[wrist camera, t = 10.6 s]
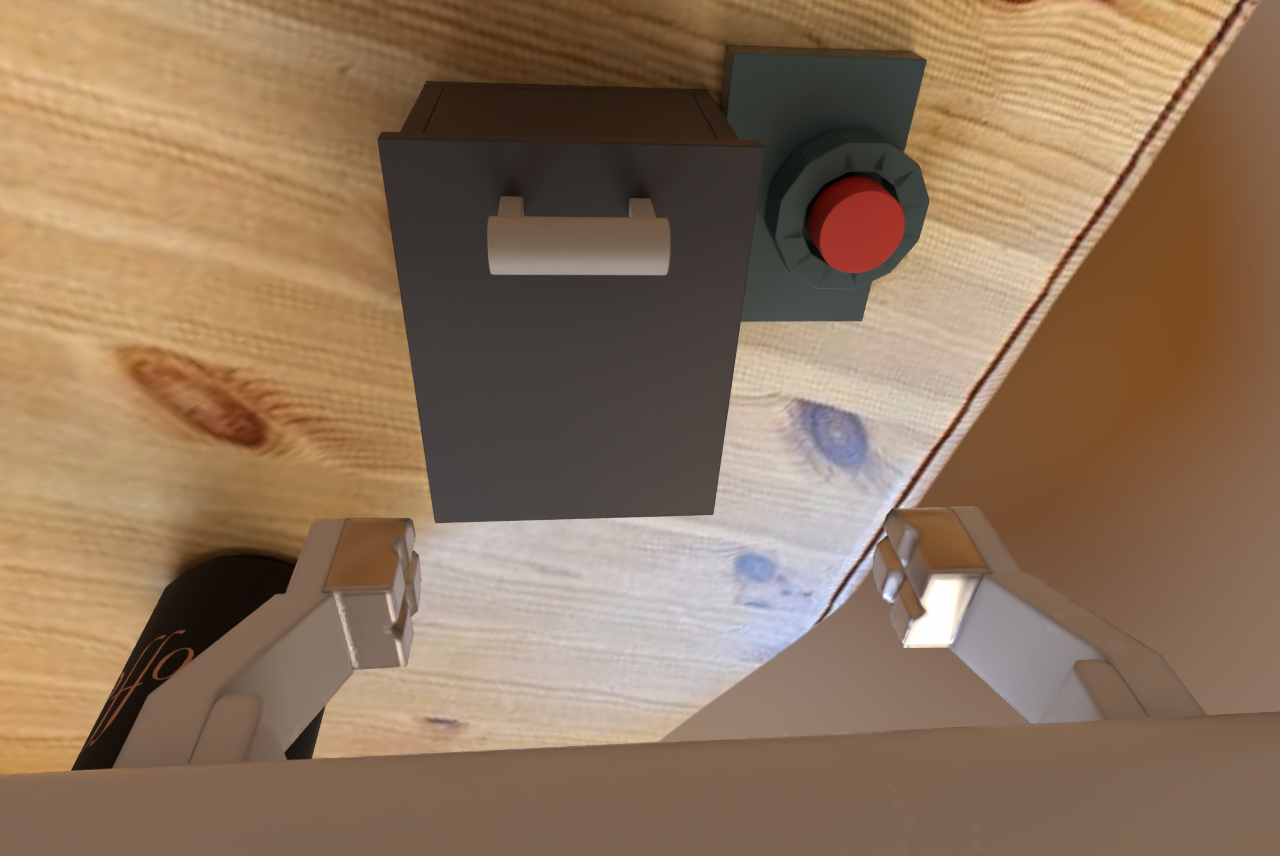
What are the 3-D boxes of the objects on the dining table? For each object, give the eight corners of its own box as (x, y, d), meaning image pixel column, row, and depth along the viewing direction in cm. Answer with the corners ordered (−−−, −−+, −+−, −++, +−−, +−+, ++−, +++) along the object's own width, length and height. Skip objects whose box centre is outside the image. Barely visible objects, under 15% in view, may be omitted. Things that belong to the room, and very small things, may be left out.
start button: (816, 175, 32) (828, 190, 31) (899, 176, 32) (915, 191, 31) (801, 256, 34) (812, 273, 33) (879, 256, 34) (893, 274, 33)
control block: (726, 45, 32) (743, 64, 29) (930, 52, 32) (966, 71, 30) (698, 307, 39) (710, 343, 36) (866, 307, 40) (890, 342, 37)
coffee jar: (302, 530, 45) (187, 848, 31) (375, 641, 52) (308, 946, 37) (128, 567, 46) (-64, 897, 31) (223, 672, 52) (99, 986, 38)
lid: (380, 130, 23) (350, 182, 19) (760, 139, 24) (797, 189, 21) (436, 511, 32) (422, 594, 29) (710, 504, 33) (730, 583, 30)
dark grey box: (426, 80, 31) (384, 157, 24) (707, 89, 33) (757, 165, 25) (458, 381, 40) (436, 511, 32) (680, 379, 41) (710, 503, 33)
